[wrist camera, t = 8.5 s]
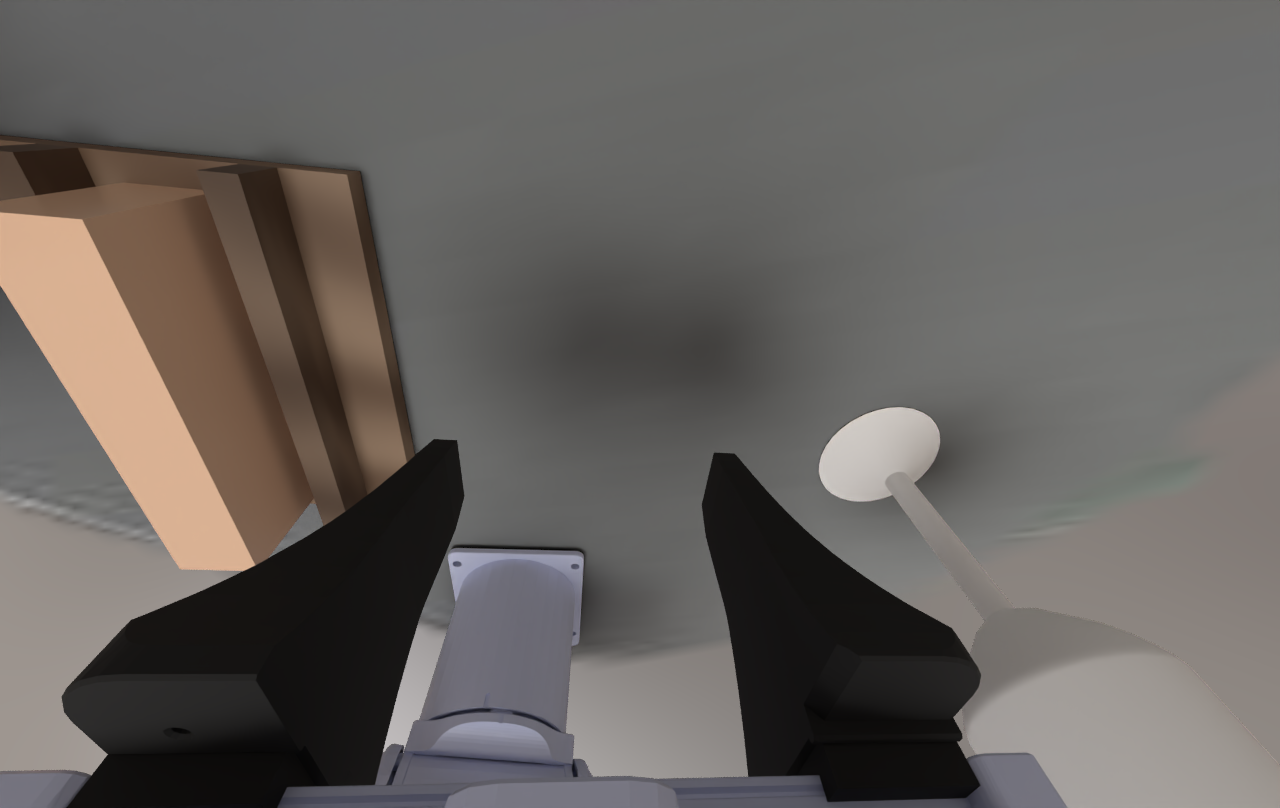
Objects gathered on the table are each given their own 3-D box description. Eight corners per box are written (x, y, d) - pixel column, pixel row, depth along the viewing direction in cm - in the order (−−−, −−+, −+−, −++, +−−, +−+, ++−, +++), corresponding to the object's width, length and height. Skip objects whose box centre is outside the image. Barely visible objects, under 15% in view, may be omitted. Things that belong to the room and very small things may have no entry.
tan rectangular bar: (320, 489, 24) (258, 570, 20) (257, 486, 24) (180, 569, 19) (218, 191, 16) (81, 219, 12) (124, 182, 16) (-50, 208, 12)
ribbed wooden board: (422, 493, 26) (401, 536, 23) (184, 485, 24) (135, 528, 22) (359, 171, 17) (316, 181, 15) (-8, 134, 16) (-125, 138, 14)
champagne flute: (966, 421, 25) (2505, 1767, 5) (896, 510, 28) (1618, 1519, 8) (857, 394, 24) (2332, 2096, 3) (797, 490, 27) (1360, 1636, 7)
